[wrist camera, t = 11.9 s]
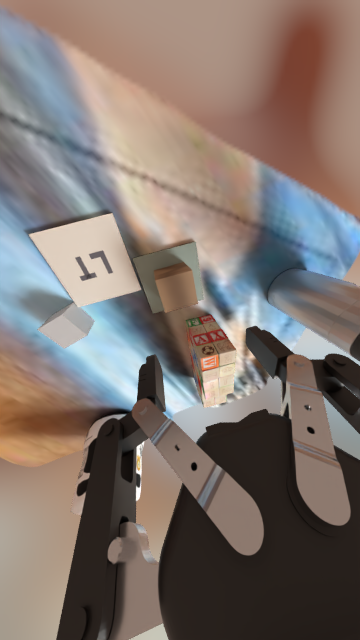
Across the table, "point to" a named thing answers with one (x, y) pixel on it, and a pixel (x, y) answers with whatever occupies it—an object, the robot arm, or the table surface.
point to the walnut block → (176, 286)
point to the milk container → (87, 462)
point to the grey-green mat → (165, 259)
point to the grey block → (67, 325)
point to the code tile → (89, 259)
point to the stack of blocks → (211, 360)
